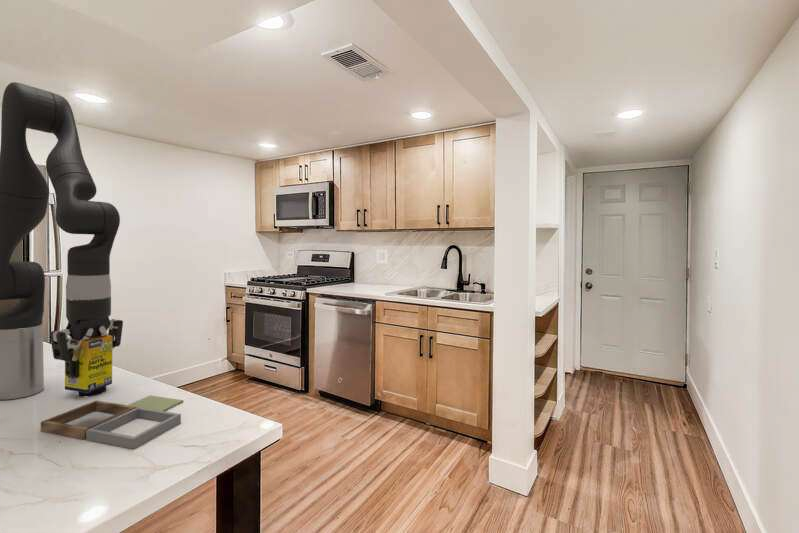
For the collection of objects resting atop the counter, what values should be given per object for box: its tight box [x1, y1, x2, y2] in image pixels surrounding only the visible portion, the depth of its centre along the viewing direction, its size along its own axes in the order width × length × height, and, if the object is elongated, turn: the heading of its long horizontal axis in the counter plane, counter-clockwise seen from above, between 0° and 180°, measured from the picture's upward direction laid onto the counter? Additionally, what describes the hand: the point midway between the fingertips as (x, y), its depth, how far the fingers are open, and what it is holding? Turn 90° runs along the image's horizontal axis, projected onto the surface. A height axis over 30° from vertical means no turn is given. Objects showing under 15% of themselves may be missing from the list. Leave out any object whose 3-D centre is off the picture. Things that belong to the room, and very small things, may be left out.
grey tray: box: [85, 407, 182, 450], centre depth 83 cm, size 12×12×2 cm
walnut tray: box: [40, 400, 136, 441], centre depth 85 cm, size 12×12×2 cm
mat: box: [127, 394, 184, 412], centre depth 95 cm, size 10×8×1 cm
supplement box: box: [64, 335, 113, 393], centre depth 85 cm, size 6×6×11 cm
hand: (89, 372), depth 85 cm, fingers closed on supplement box, 6 cm apart
